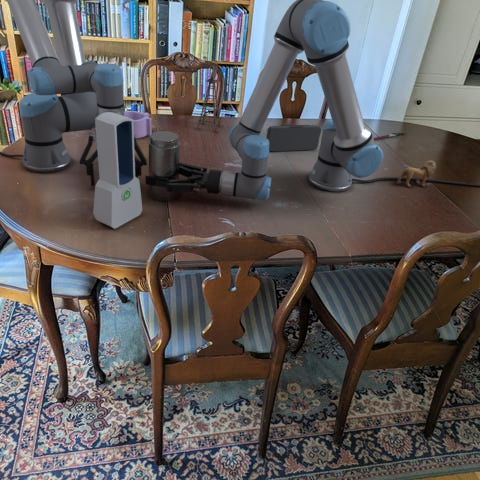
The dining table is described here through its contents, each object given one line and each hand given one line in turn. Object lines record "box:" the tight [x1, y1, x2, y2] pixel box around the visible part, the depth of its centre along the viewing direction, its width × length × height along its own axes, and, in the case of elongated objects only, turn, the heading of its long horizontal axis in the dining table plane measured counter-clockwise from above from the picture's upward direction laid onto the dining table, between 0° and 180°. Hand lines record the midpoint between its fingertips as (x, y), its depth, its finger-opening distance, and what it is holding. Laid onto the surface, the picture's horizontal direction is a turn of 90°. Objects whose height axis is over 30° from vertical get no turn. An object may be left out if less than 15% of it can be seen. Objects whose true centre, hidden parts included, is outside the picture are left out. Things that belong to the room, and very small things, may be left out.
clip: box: [124, 110, 153, 139], centre depth 188 cm, size 20×12×7 cm, turn 109°
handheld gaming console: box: [265, 124, 322, 152], centre depth 189 cm, size 23×3×10 cm, turn 108°
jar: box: [148, 130, 181, 202], centre depth 144 cm, size 9×9×20 cm
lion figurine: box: [396, 159, 436, 188], centre depth 171 cm, size 15×5×9 cm, turn 110°
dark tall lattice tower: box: [196, 56, 221, 133], centre depth 196 cm, size 9×8×30 cm
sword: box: [373, 132, 408, 141], centre depth 213 cm, size 31×3×1 cm, turn 126°
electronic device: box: [92, 112, 143, 230], centre depth 126 cm, size 12×8×30 cm, turn 148°
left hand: (115, 184), depth 149 cm, fingers open, 13 cm apart
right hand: (150, 173), depth 146 cm, fingers closed on jar, 9 cm apart
